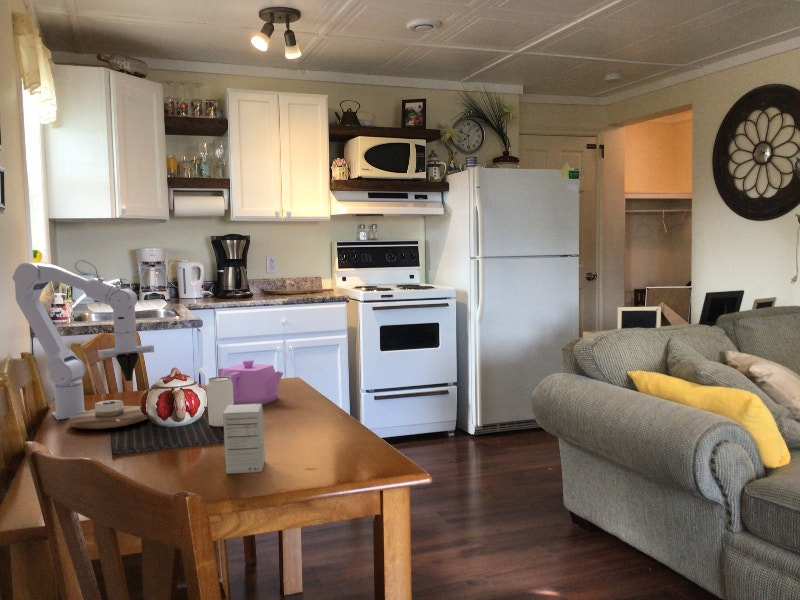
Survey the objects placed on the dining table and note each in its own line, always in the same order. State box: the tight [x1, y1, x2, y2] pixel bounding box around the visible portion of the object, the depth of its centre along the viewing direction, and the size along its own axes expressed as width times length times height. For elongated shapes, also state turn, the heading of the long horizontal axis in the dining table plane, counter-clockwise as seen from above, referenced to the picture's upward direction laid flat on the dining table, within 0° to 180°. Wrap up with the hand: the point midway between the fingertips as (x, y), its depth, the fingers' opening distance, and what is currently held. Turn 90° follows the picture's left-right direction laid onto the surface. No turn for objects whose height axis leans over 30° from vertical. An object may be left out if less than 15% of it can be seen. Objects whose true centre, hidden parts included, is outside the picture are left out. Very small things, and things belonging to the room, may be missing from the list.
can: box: [206, 376, 234, 428], centre depth 184 cm, size 6×6×12 cm
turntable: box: [68, 405, 148, 430], centre depth 188 cm, size 20×20×1 cm
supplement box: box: [223, 404, 266, 474], centre depth 146 cm, size 7×7×13 cm
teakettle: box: [217, 359, 284, 406], centre depth 210 cm, size 17×17×12 cm
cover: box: [94, 399, 124, 418], centre depth 187 cm, size 7×7×3 cm
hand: (128, 380), depth 199 cm, fingers closed
